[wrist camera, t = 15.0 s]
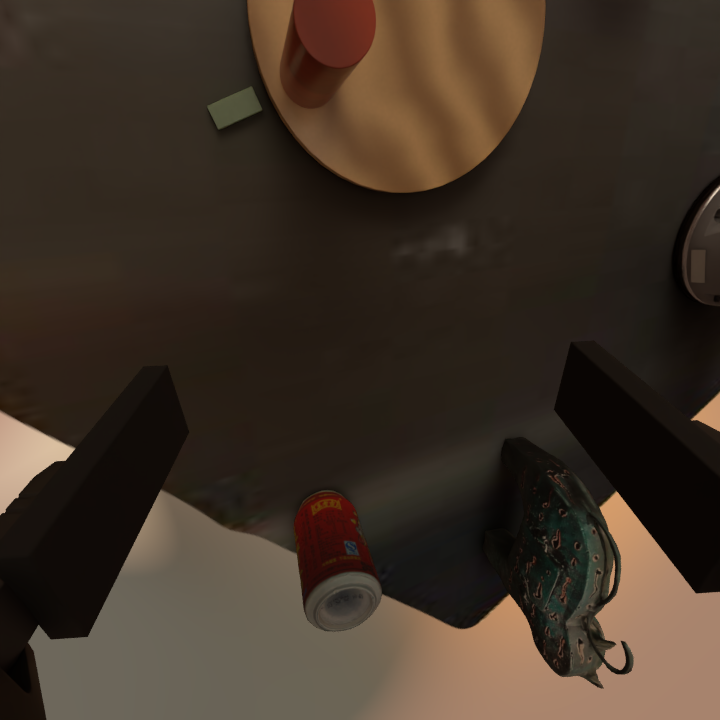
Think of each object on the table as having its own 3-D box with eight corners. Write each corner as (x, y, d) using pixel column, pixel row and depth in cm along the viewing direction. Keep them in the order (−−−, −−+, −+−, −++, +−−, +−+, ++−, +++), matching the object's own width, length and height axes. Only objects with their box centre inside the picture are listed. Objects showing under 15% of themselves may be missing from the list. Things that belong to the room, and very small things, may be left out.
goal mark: (251, 87, 29) (252, 85, 29) (262, 111, 30) (262, 109, 30) (207, 107, 29) (206, 106, 29) (218, 130, 30) (218, 129, 29)
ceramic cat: (508, 551, 56) (627, 717, 38) (466, 559, 55) (571, 736, 37) (537, 430, 49) (702, 564, 31) (490, 434, 48) (635, 579, 30)
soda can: (358, 523, 48) (390, 621, 36) (300, 542, 46) (314, 649, 35) (347, 477, 45) (378, 568, 34) (285, 496, 44) (295, 597, 33)
